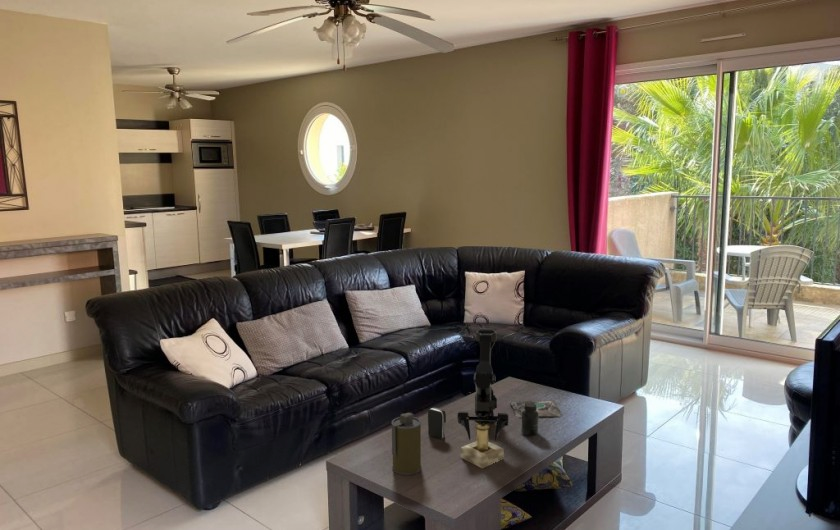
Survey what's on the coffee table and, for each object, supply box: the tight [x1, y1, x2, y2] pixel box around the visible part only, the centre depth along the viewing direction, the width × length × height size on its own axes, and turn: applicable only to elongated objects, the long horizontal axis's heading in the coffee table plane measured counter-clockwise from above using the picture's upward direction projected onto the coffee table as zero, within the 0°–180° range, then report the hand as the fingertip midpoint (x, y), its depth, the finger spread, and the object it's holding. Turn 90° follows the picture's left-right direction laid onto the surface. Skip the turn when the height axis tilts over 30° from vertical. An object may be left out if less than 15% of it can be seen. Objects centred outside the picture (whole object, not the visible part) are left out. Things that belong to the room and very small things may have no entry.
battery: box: [427, 407, 447, 440], centre depth 243 cm, size 7×4×11 cm, turn 53°
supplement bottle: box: [520, 403, 540, 437], centre depth 245 cm, size 7×7×12 cm
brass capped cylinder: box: [474, 422, 491, 453], centre depth 224 cm, size 5×5×13 cm
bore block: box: [460, 441, 505, 469], centre depth 225 cm, size 11×11×4 cm
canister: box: [391, 412, 422, 476], centre depth 216 cm, size 11×10×20 cm
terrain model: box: [509, 400, 564, 419], centre depth 269 cm, size 20×15×3 cm
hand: (482, 440), depth 223 cm, fingers open, 9 cm apart
